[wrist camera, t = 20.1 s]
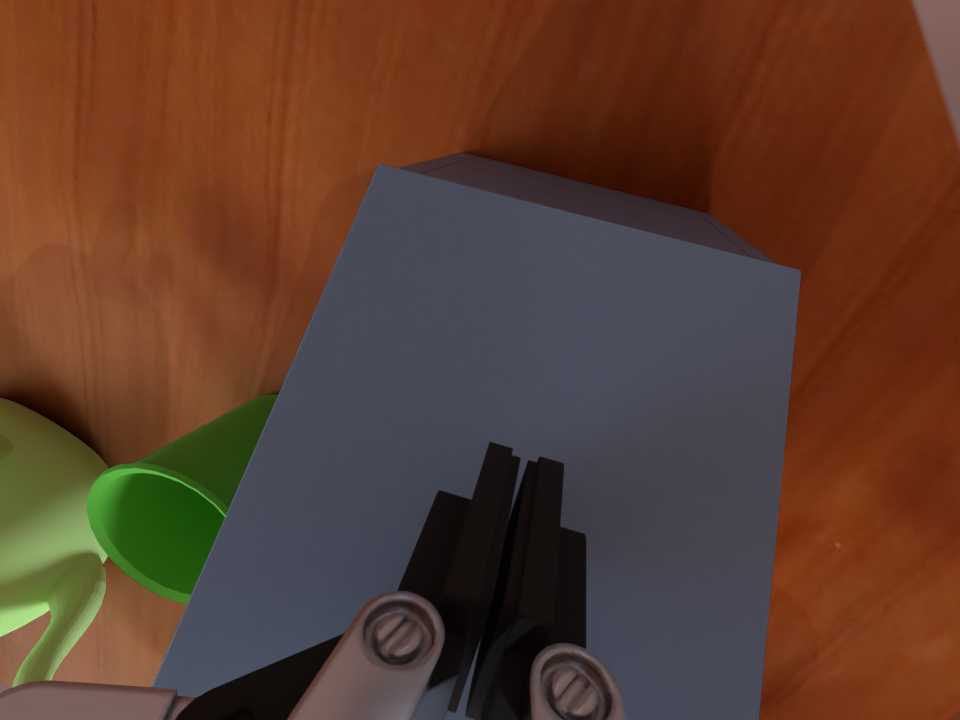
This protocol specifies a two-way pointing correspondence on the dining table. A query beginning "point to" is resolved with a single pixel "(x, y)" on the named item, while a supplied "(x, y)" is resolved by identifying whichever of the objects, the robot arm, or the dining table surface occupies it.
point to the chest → (587, 201)
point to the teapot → (46, 536)
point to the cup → (175, 501)
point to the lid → (520, 438)
